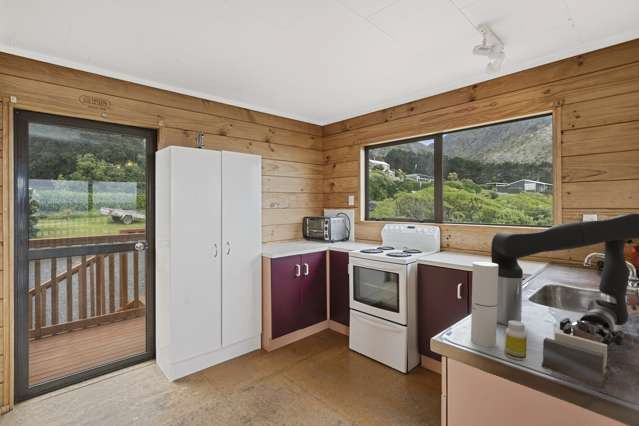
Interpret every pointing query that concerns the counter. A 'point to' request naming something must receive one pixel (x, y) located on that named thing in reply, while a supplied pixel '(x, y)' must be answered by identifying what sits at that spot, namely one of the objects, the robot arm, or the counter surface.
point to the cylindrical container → (484, 303)
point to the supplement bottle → (515, 340)
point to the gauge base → (574, 362)
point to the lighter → (586, 331)
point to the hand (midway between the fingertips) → (585, 337)
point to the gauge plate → (583, 344)
